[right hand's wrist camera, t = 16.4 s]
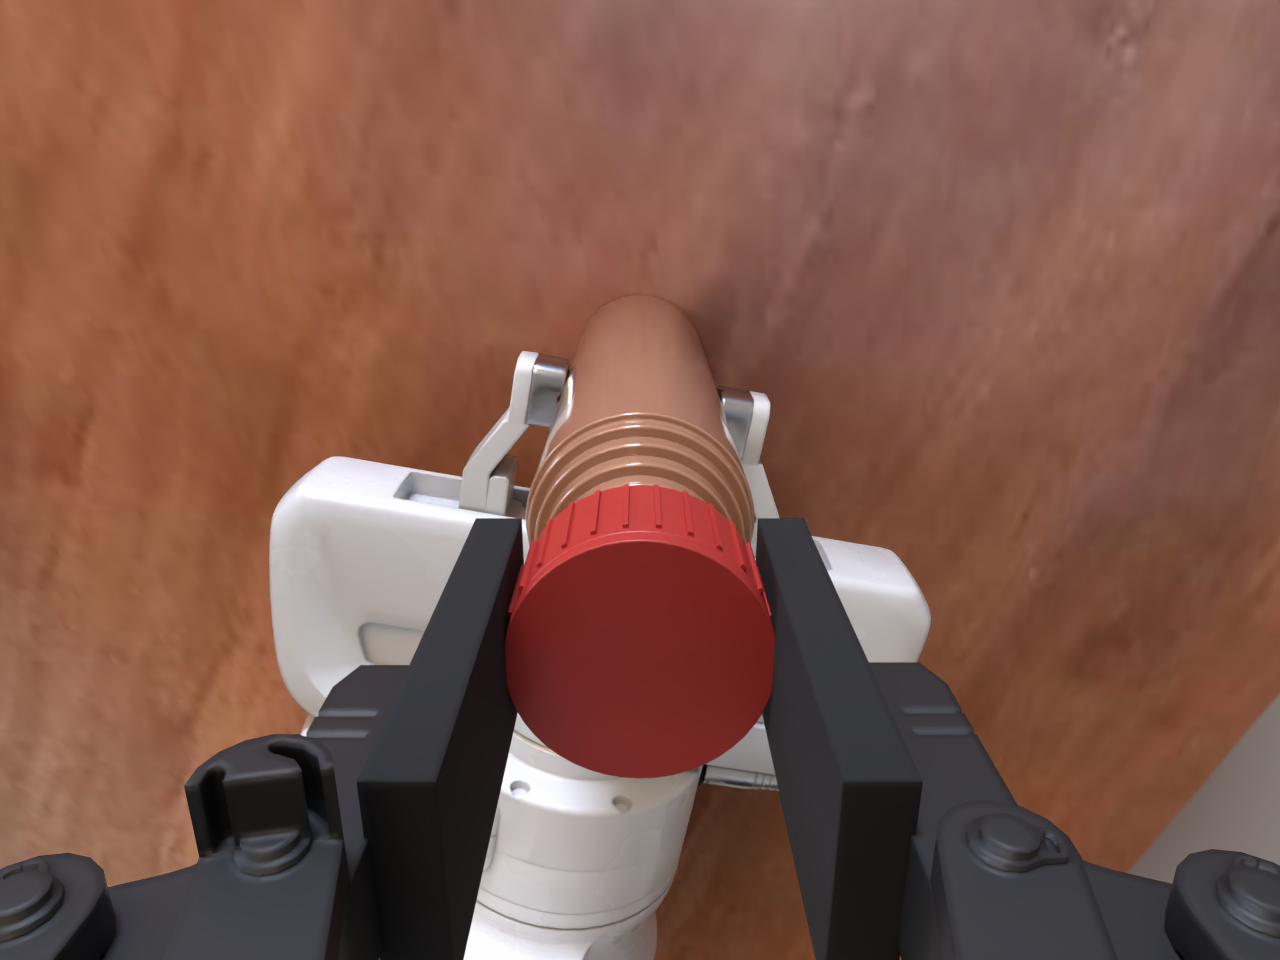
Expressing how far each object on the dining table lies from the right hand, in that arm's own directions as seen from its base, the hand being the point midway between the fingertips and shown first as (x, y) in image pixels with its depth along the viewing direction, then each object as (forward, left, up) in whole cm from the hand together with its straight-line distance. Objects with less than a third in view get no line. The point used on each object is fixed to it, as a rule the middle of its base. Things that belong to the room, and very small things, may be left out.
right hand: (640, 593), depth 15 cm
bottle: (0, 0, -19) cm, 19 cm away
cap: (0, 0, +2) cm, 2 cm away
